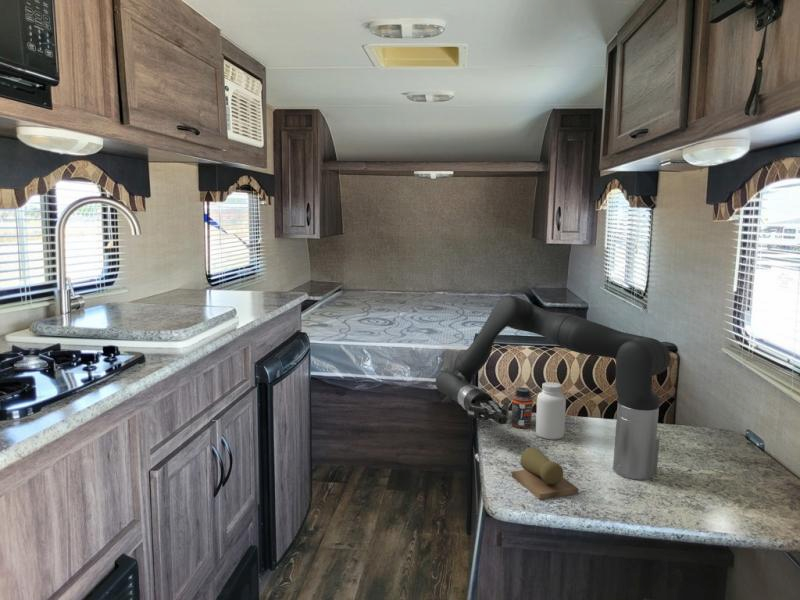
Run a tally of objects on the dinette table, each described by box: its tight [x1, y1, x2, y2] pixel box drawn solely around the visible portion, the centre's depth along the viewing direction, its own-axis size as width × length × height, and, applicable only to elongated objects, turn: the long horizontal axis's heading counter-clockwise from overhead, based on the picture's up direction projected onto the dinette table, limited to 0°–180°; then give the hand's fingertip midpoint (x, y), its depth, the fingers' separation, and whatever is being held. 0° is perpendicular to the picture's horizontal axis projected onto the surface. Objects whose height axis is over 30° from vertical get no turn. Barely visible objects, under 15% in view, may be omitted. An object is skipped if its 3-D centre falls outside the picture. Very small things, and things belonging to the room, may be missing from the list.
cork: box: [520, 446, 564, 485], centre depth 134 cm, size 6×6×11 cm
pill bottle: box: [535, 381, 567, 440], centre depth 163 cm, size 8×8×15 cm
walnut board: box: [511, 469, 579, 500], centre depth 133 cm, size 10×12×1 cm
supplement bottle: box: [510, 386, 534, 429], centre depth 170 cm, size 6×6×11 cm
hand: (504, 420), depth 150 cm, fingers closed
